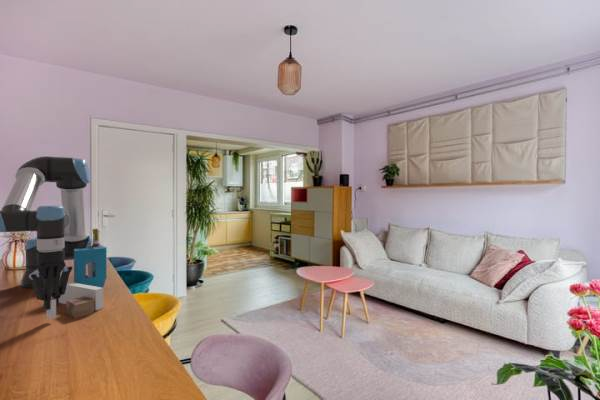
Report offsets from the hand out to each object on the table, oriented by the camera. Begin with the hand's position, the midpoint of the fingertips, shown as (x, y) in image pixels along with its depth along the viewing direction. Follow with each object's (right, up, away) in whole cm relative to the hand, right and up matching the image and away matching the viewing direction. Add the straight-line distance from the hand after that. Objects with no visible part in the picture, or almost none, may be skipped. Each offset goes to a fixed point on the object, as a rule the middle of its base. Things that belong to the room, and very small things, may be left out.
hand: (51, 317), depth 106 cm
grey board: (-1, -1, +16) cm, 16 cm away
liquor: (-11, -1, +39) cm, 40 cm away
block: (-8, -1, +32) cm, 33 cm away
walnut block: (+4, -2, +8) cm, 9 cm away
